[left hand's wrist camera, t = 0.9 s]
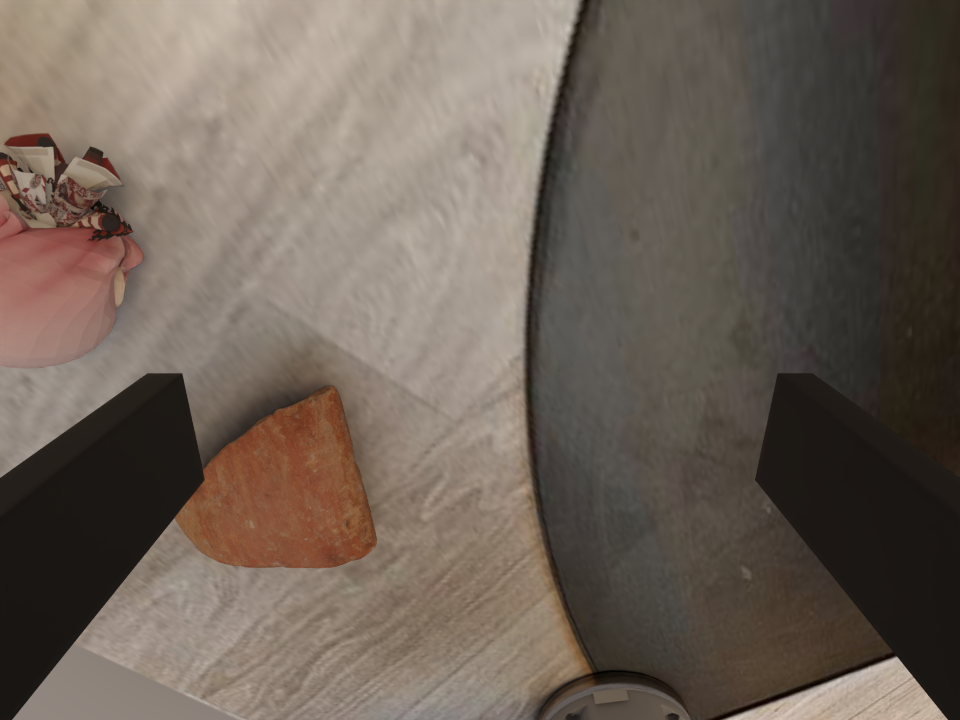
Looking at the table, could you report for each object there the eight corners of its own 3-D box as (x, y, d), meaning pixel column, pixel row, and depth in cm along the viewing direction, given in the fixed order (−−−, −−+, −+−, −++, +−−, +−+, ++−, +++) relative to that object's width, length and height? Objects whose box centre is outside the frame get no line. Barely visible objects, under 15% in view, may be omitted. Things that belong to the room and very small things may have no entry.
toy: (-28, 68, 34) (-85, 284, 38) (-143, 71, 24) (-202, 356, 28) (184, 167, 39) (115, 346, 43) (155, 201, 30) (71, 423, 34)
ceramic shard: (116, 433, 38) (337, 393, 39) (157, 404, 44) (347, 371, 46) (176, 616, 42) (377, 575, 43) (206, 567, 48) (381, 531, 49)
